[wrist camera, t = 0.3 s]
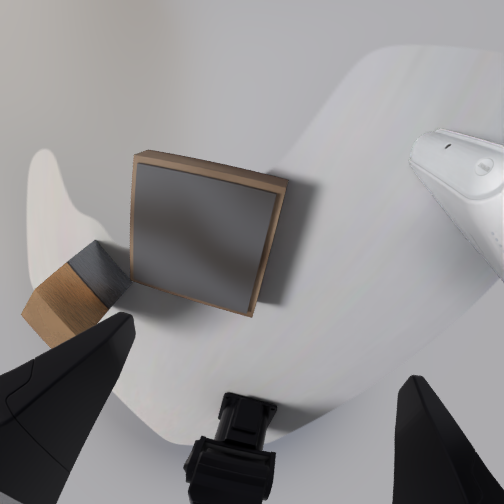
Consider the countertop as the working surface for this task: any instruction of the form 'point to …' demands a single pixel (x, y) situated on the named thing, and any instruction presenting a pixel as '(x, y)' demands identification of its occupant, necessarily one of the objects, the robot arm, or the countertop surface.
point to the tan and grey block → (75, 296)
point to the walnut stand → (202, 228)
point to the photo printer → (466, 187)
